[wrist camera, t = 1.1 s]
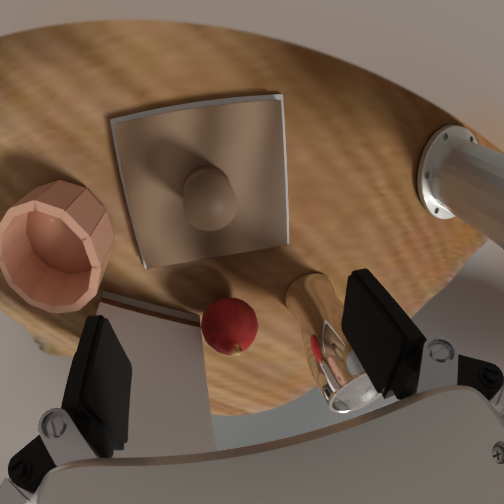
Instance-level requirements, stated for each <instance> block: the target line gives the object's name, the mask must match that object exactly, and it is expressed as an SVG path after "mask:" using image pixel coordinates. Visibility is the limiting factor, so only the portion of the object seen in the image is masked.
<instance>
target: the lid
mask: <svg viewBox="0 0 504 504" xmlns="http://www.w3.org/2000/svg"><path fill="white" fill-rule="evenodd" d="M114 131H115V137H116V143H117V148H118V153H119V158H120V163H121V168H122V173H123V178H124V182H125V187H126V191H127V196H128V200H129V204H130V208H131V212H132V216H133V220H134V224H135V228H136V231H137V235H138V239H139V242H140V246H141V250H142V253H143V256H144V260H145V263H146V267H147V269H150V268H155V267H161V266H167V265H173V264H179V263H185V262H191V261H197V260H203V259H209V258H214V257H220V256H226V255H232V254H238V253H244V252H250V251H256V250H262V249H268V248H274V247H280V246H285V245H287V213H286V185H285V162H284V142H283V124H282V108H281V100H266V101H251V102H240V103H230V104H221V105H212V106H205V107H198V108H191V109H185V110H179V111H173V112H167V113H162V114H157V115H152V116H147V117H142V118H138V119H133V120H129V121H125V122H121V123H117V124H114Z"/></svg>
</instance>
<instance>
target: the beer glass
mask: <svg viewBox="0 0 504 504" xmlns="http://www.w3.org/2000/svg"><path fill="white" fill-rule="evenodd" d="M285 304H286V306H287V308H288V309H289V311H290V312H291V313H292V315H293V316H294V317H295V318H296V320H297V322H298V324H299V327H300V331H301V335H302V340H303V345H304V350H305V354H306V358H307V362H308V365H309V368H310V370H311V373H312V376H313V378H314V380H315V382H316V384H317V386H318V388H319V390H320V392H321V394H322V395H323V397H324V398H325V400H326V402H327V404H328V406H329V409H330V410H331V411H332V412H334V413H347V412H351V411H355V410H358V409H360V408H362V407H364V406H366V405H368V404H370V403H372V402H373V401H375V400H376V399H378V398H379V397H380V396H381V395H382V394H381V393H380V394H379V393H377V391H376V390H375V388H374V386H373V384H372V383H371V381H370V379H369V377H368V376H367V374H366V372H365V370H364V368H363V367H362V365H361V363H360V361H359V360H358V358H357V356H356V355H355V353H354V351H353V349H352V348H351V346H350V344H349V342H348V341H347V339H346V337H345V336H344V334H343V332H342V329H341V322H342V316H343V309H344V305H343V304H342V303H341V301H340V300H339V299H338V297H337V295H336V293H335V290H334V288H333V285H332V283H331V281H330V279H329V278H328V277H326V276H325V275H323V274H320V273H310V274H306V275H303V276H301V277H299V278H298V279H296V280H295V281H294V282H293V283H292V284H291V285H290V286H289V288H288V289H287V291H286V294H285Z"/></svg>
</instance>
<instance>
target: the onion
mask: <svg viewBox="0 0 504 504" xmlns="http://www.w3.org/2000/svg"><path fill="white" fill-rule="evenodd" d="M201 329H202V333H203V335H204V338H205V340H206V342H207V343H208V344H209V345H210V346H211V347H212V348H213V349H215V350H216V351H217V352H219V353H223V354H227V355H234V356H238V355H240V354H241V353H243V352H244V351H245V350H246V349H247V348H248V347H249V346H250V345H251V344H252V342H253V341H254V339H255V337H256V333H257V330H258V321H257V318H256V314H255V312H254V310H253V309H252V308H251V307H250V306H249V305H248V304H247V303H246V302H244V301H242V300H240V299H237V298H228V297H227V298H222V299H218V300H216V301H214V302H212V303H211V304H210V305H209V306H208V308H207V309H206V310H205V312H204V313H203V317H202V323H201Z"/></svg>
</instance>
